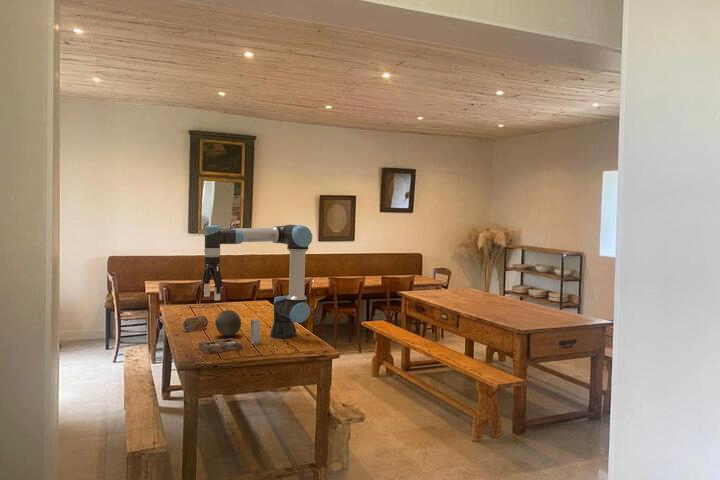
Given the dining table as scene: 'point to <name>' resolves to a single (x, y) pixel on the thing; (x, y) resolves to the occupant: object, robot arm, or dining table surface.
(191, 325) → the tin
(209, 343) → the socket board
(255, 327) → the plug
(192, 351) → the dining table surface
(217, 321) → the dark grey round ball
